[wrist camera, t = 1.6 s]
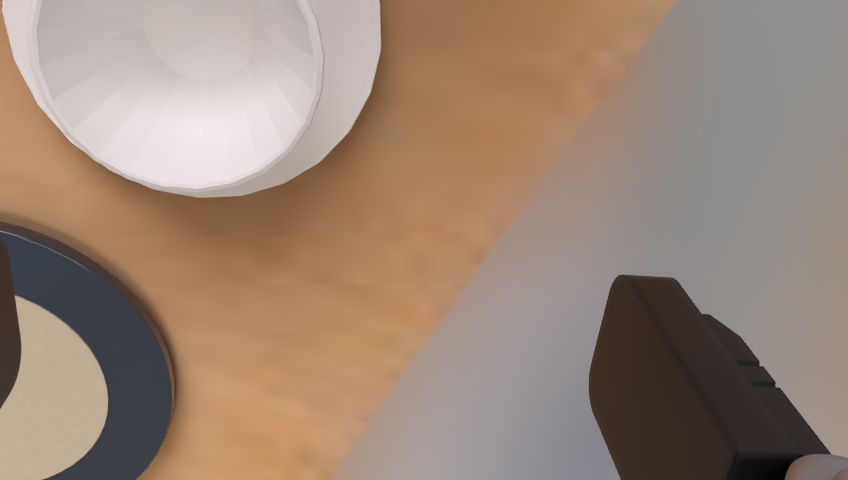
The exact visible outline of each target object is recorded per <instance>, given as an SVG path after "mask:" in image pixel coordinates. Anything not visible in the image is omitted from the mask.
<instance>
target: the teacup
mask: <svg viewBox="0 0 848 480" xmlns="http://www.w3.org/2000/svg"><path fill="white" fill-rule="evenodd" d="M2 13H3V17H4V21H5V25H6V29H7V33H8V37H9V41H10V45H11V49H12V53H13V57H14V61H15V63H16V65H17V67H18V68H19V70H20V72H21V74H22V76H23V78H24V80H25V82H26V83H27V85H28V87H29V89H30V91H31V93H32V95H33V97H34V98H35V100H36V102H37V104H38V106H39V107H40V108H41V109H42V110H43V111H44V112H45V114H46V115H47V116H48V117H49V118H50V119H51V120H52V122H53V123H54V124H55V125H56V126H57V127H58V128H59V129H60V131H61V132H62V133H63V134H64V135H65V136H66V137H67V139H68V140H69V141H70V142H71V143H72V144H74V145H75V146H77V147H78V148H79V149H81V150H82V151H83V152H85V153H86V154H88V155H89V156H90V157H91V158H92V159H93V160H94V161H96V162H98V163H100V164H101V165H103V166H104V167H106V168H107V169H108V170H110V171H112V172H114V173H116V174H119V175H121V176H123V177H124V178H126V179H128V180H132V181H135V182H137V183H140V184H142V185H144V186H147V187H149V188H151V189H154V190H159V191H164V192H169V193H175V194H180V195H186V196H191V197H196V198H208V197H229V196H244V195H247V194H251V193H254V192H257V191H261V190H264V189H268V188H271V187H274V186H278V185H281V184H284V183H286V182H288V181H289V180H291V179H293V178H294V177H296V176H298V175H299V174H301V173H303V172H304V171H306V170H308V169H309V168H311V167H313V166H314V165H316V164H318V163H319V162H321V161H322V160H323V159H324V157H325V156H326V155H327V154H328V153H329V152H330V151H331V150H332V149H333V148H334V147H335V146H336V145H337V144H338V143H339V142H340V141H341V140H342V139H343V138H344V137H345V136H346V135H347V134H348V133H349V132H350V130H351V128H352V126H353V125H354V123H355V121H356V119H357V117H358V115H359V114H360V112H361V110H362V108H363V106H364V104H365V103H366V101H367V99H368V97H369V95H370V94H371V90H372V86H373V82H374V78H375V73H376V69H377V65H378V61H379V57H380V52H381V20H380V0H2Z"/></svg>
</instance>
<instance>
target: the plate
mask: <svg viewBox="0 0 848 480" xmlns="http://www.w3.org/2000/svg"><path fill="white" fill-rule="evenodd" d="M0 238H1V239H2V240H3V242H4V243H5V245H6V247H7V250H8V254H9V259H10V266H11V273H12V280H13V287H14V294H15V301H16V308H17V315H18V322H19V329H20V336H21V362H20V368H19V372H18V376H17V379H16V382H15V385H14V387H13V389H12V391H11V392H10V394H9V396H8V397H7V399H6V401H5V402H4V404H3V406H2V407H1V409H0V480H136V479H137V478H138V477H139V476H140V475H141V474H142V473H143V472H144V471H145V470H146V469H147V468H148V466H149V465H150V463H151V462H152V461H153V459H154V458H155V456H156V455H157V453H158V451H159V449H160V447H161V445H162V443H163V441H164V439H165V437H166V434H167V430H168V427H169V423H170V420H171V416H172V412H173V404H174V396H175V389H174V374H173V369H172V365H171V360H170V356H169V353H168V351H167V348H166V346H165V343H164V341H163V338H162V336H161V334H160V332H159V330H158V329H157V327H156V325H155V323H154V322H153V320H152V318H151V316H150V315H149V314H148V312H147V311H146V310H145V309H144V307H143V306H142V305H141V303H140V302H139V301H138V299H137V298H136V297H135V296H134V295H133V294H132V293H131V292H130V291H129V290H128V289H127V288H126V287H125V286H124V285H123V284H122V283H121V282H120V281H119V280H118V279H117V278H115V277H114V276H113V275H112V274H110V273H109V272H108V271H107V270H105V269H104V268H103V267H102V266H100V265H99V264H98V263H96V262H94V261H93V260H91V259H90V258H88V257H87V256H85V255H83V254H82V253H80V252H79V251H77V250H75V249H73V248H71V247H69V246H67V245H65V244H63V243H61V242H59V241H57V240H55V239H53V238H51V237H48V236H46V235H43V234H40V233H37V232H35V231H32V230H29V229H27V228H24V227H20V226H16V225H12V224H8V223H4V222H1V221H0Z"/></svg>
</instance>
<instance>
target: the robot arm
mask: <svg viewBox="0 0 848 480" xmlns="http://www.w3.org/2000/svg"><path fill="white" fill-rule="evenodd" d="M20 362H21V336H20V329H19V322H18V315H17V308H16V301H15V294H14V287H13V280H12V273H11V266H10V259H9V254H8V250H7V247H6V245H5V243H4V242H3V240H2V239H1V238H0V409H1V407H2V406H3V404H4V402H5V401H6V399H7V397H8V396H9V394H10V392H11V391H12V389H13V387H14V385H15V382H16V379H17V376H18V372H19V368H20ZM589 397H590V403H591V407H592V411H593V413H594V416H595V418H596V421H597V423H598V425H599V428H600V430H601V432H602V435H603V437H604V440H605V442H606V444H607V447H608V449H609V452H610V454H611V457H612V459H613V461H614V464H615V466H616V469H617V471H618V473H619V476H620V478H621V480H848V458H846V457H842V456H836V455H831V453H830V452H829V451H828V449H827V448H826V447H825V446H824V444H823V443H822V442H821V441H820V439H819V438H818V437H817V435H816V434H815V433H814V431H813V430H812V429H811V428H810V426H809V425H808V424H807V422H806V421H805V420H804V419H803V417H802V416H801V415H800V413H799V412H798V411H797V409H796V408H795V407H794V406H793V404H792V403H791V402H790V400H789V399H788V398H787V396H786V395H785V394H784V393H783V391H782V390H781V389H780V388H776V387H775V381H774V380H773V378H772V377H771V376H770V374H769V373H768V372H767V371H766V369H765V368H764V367H761V366H759V360H758V359H757V358H756V356H755V355H754V354H753V353H752V351H751V350H750V349H749V347H748V346H747V345H746V343H745V342H744V341H743V339H742V338H741V337H740V336H739V335H737V334H736V333H735V332H733V331H732V330H730V329H729V328H727V327H726V326H725V325H723V324H722V323H720V322H719V321H718V320H716V319H715V318H713V317H712V316H711V315H708V314H701V313H700V311H699V310H698V308H697V307H696V306H695V304H694V303H693V302H692V300H691V299H690V297H689V296H688V295H687V294H686V292H685V291H684V289H683V288H682V287H681V285H680V284H679V282H678V281H677V280H675V279H674V278H670V277H653V276H635V275H619V276H618V277H617V278H616V279H615V280H614V282H613V284H612V286H611V289H610V292H609V296H608V300H607V304H606V308H605V311H604V315H603V320H602V323H601V327H600V331H599V335H598V339H597V343H596V347H595V351H594V355H593V359H592V363H591V367H590V374H589Z"/></svg>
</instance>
